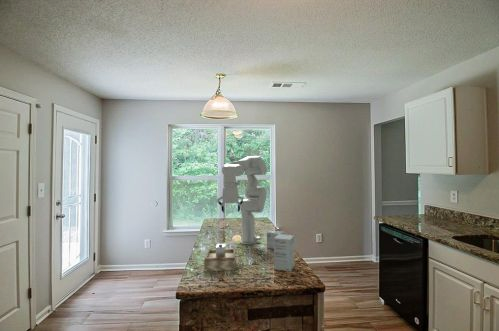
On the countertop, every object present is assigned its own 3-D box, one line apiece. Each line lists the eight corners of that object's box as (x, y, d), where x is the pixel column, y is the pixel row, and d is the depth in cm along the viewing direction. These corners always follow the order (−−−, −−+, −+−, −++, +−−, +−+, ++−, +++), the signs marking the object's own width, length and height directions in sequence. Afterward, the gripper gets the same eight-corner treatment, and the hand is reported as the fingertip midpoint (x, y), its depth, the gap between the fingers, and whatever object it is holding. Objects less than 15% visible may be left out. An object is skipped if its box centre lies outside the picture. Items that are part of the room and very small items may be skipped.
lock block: (225, 254, 158) (225, 242, 158) (225, 258, 151) (224, 245, 151) (216, 254, 158) (216, 242, 158) (215, 258, 151) (215, 245, 151)
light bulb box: (284, 247, 187) (284, 231, 187) (281, 250, 181) (281, 233, 181) (270, 245, 192) (269, 230, 192) (266, 248, 186) (266, 232, 186)
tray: (235, 260, 162) (235, 249, 162) (234, 270, 146) (234, 257, 147) (208, 260, 162) (208, 249, 162) (204, 270, 146) (204, 258, 146)
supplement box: (279, 263, 156) (278, 233, 156) (295, 265, 152) (294, 235, 152) (273, 269, 147) (273, 237, 147) (290, 271, 143) (290, 239, 143)
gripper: (243, 183, 177) (244, 210, 178) (216, 184, 177) (217, 211, 177) (243, 185, 170) (244, 212, 171) (215, 186, 169) (216, 213, 170)
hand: (230, 211), depth 174 cm, fingers open, 9 cm apart
